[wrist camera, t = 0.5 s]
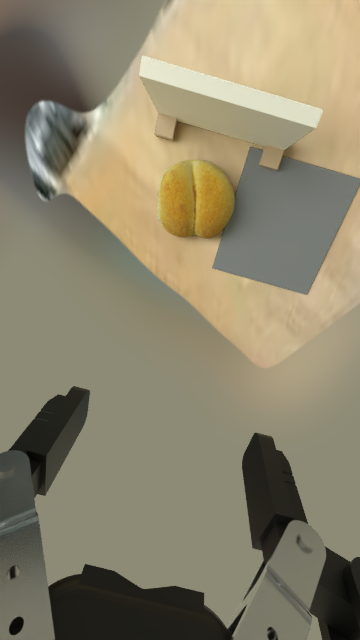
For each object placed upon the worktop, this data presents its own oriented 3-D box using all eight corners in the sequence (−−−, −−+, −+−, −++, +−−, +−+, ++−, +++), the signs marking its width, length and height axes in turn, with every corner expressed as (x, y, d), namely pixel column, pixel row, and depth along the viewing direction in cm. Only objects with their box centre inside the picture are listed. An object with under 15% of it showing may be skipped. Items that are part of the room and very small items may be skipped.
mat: (250, 147, 30) (250, 146, 30) (361, 179, 30) (362, 179, 30) (212, 267, 35) (212, 268, 35) (306, 294, 36) (306, 294, 36)
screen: (166, 80, 28) (147, 20, 19) (293, 118, 29) (335, 77, 19) (155, 135, 30) (134, 105, 21) (275, 170, 31) (305, 155, 21)
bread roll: (230, 237, 34) (232, 241, 30) (159, 234, 34) (153, 238, 31) (237, 161, 30) (241, 155, 27) (159, 160, 31) (152, 154, 27)
